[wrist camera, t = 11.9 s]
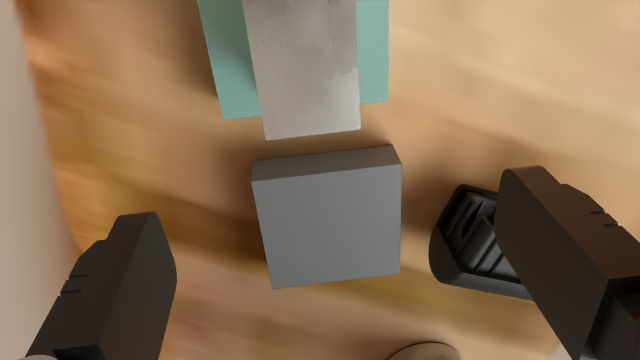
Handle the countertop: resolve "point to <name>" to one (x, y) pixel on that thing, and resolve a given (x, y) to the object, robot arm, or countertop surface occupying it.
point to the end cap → (472, 246)
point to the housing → (304, 65)
